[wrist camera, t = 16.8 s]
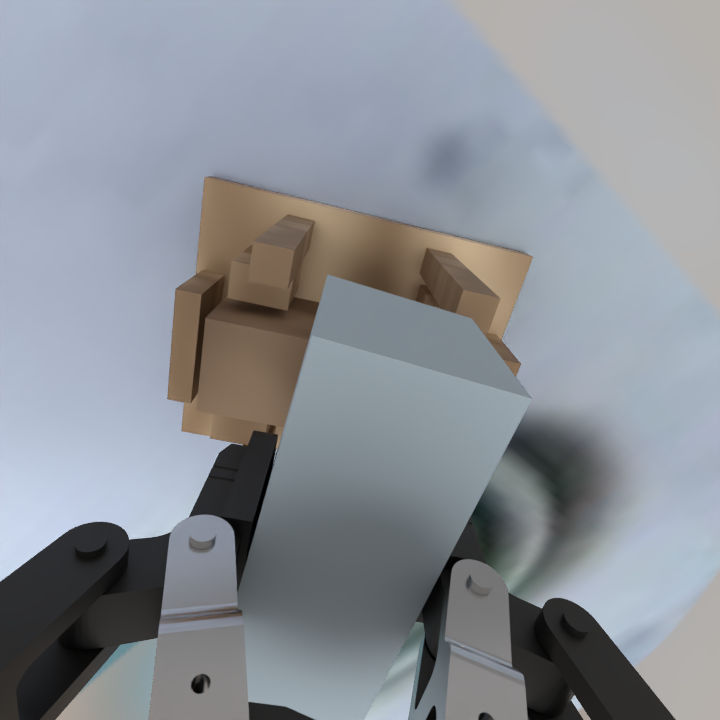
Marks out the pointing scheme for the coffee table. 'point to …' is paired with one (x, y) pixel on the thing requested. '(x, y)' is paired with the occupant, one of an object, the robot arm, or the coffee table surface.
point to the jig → (323, 276)
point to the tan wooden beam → (253, 359)
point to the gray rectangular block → (368, 494)
